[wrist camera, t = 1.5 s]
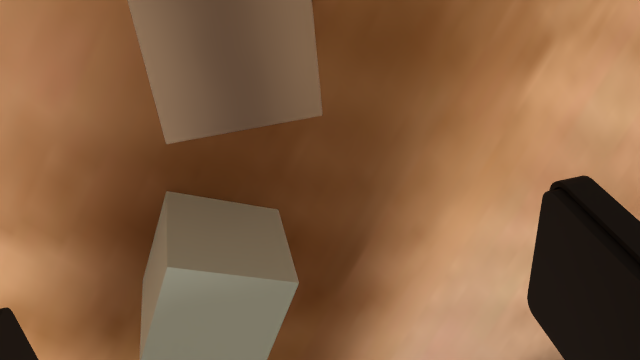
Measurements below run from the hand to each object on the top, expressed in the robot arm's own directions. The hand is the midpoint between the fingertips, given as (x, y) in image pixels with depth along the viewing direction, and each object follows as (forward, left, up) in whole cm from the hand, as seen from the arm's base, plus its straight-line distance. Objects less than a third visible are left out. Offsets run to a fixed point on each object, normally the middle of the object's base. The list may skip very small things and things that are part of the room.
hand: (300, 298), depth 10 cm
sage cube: (-7, +11, -18) cm, 23 cm away
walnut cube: (0, 0, -18) cm, 18 cm away
